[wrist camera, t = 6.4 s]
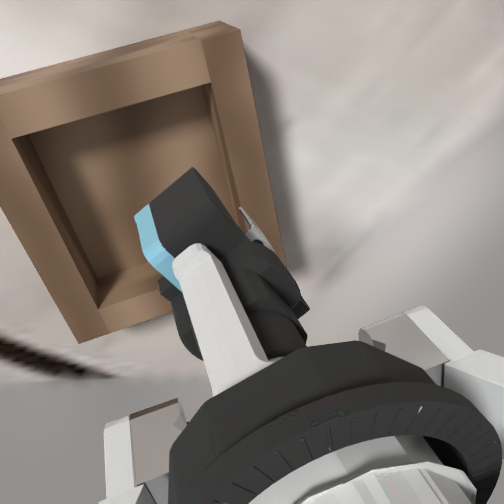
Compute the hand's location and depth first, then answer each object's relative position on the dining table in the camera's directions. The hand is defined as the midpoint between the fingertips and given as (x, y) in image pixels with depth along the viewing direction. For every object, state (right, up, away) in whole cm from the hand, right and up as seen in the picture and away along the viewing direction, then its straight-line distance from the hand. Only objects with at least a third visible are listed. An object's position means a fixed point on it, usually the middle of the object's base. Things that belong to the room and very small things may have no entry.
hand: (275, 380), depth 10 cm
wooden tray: (-7, +8, +20) cm, 22 cm away
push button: (-2, +3, +5) cm, 6 cm away
